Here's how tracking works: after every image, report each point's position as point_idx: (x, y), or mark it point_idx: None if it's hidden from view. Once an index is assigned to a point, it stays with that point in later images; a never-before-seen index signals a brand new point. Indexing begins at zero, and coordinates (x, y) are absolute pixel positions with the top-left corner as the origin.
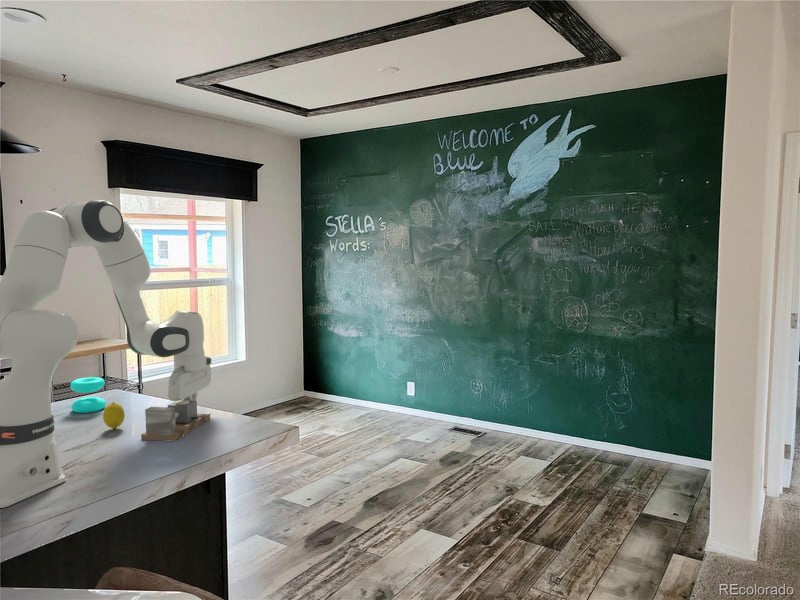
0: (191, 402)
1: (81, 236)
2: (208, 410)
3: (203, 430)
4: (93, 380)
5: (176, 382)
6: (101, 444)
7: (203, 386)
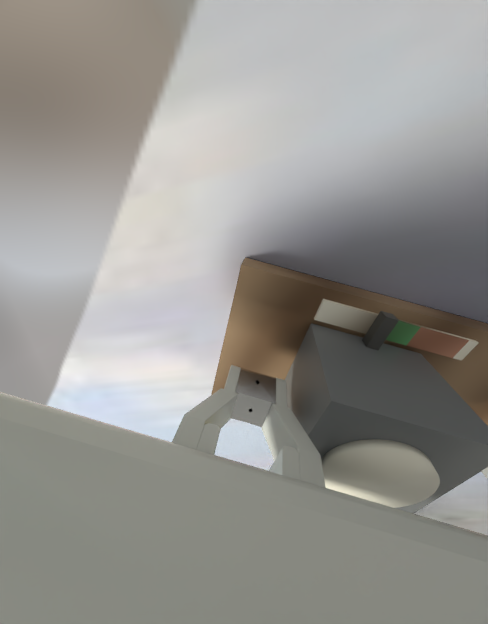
0: (384, 429)
1: None
2: (106, 291)
3: (480, 252)
4: None
5: None
6: (460, 512)
7: (62, 441)
